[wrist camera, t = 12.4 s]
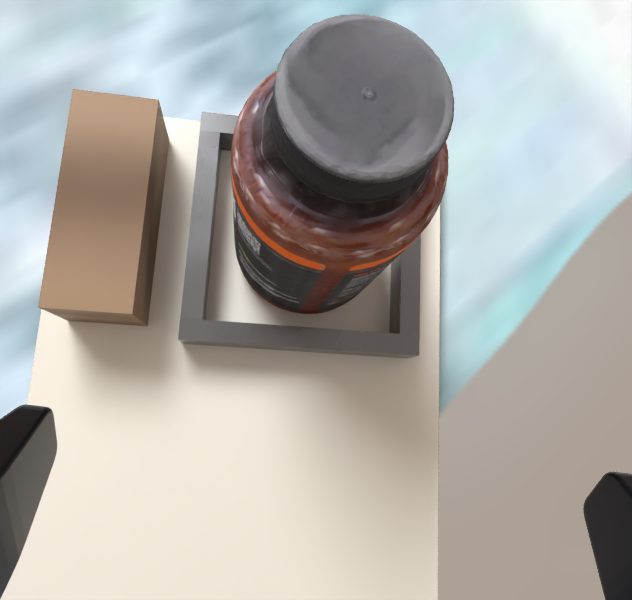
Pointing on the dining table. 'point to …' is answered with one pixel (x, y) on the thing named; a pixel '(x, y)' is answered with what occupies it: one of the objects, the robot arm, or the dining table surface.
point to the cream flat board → (235, 442)
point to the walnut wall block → (106, 210)
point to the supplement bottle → (338, 161)
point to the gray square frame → (279, 337)
